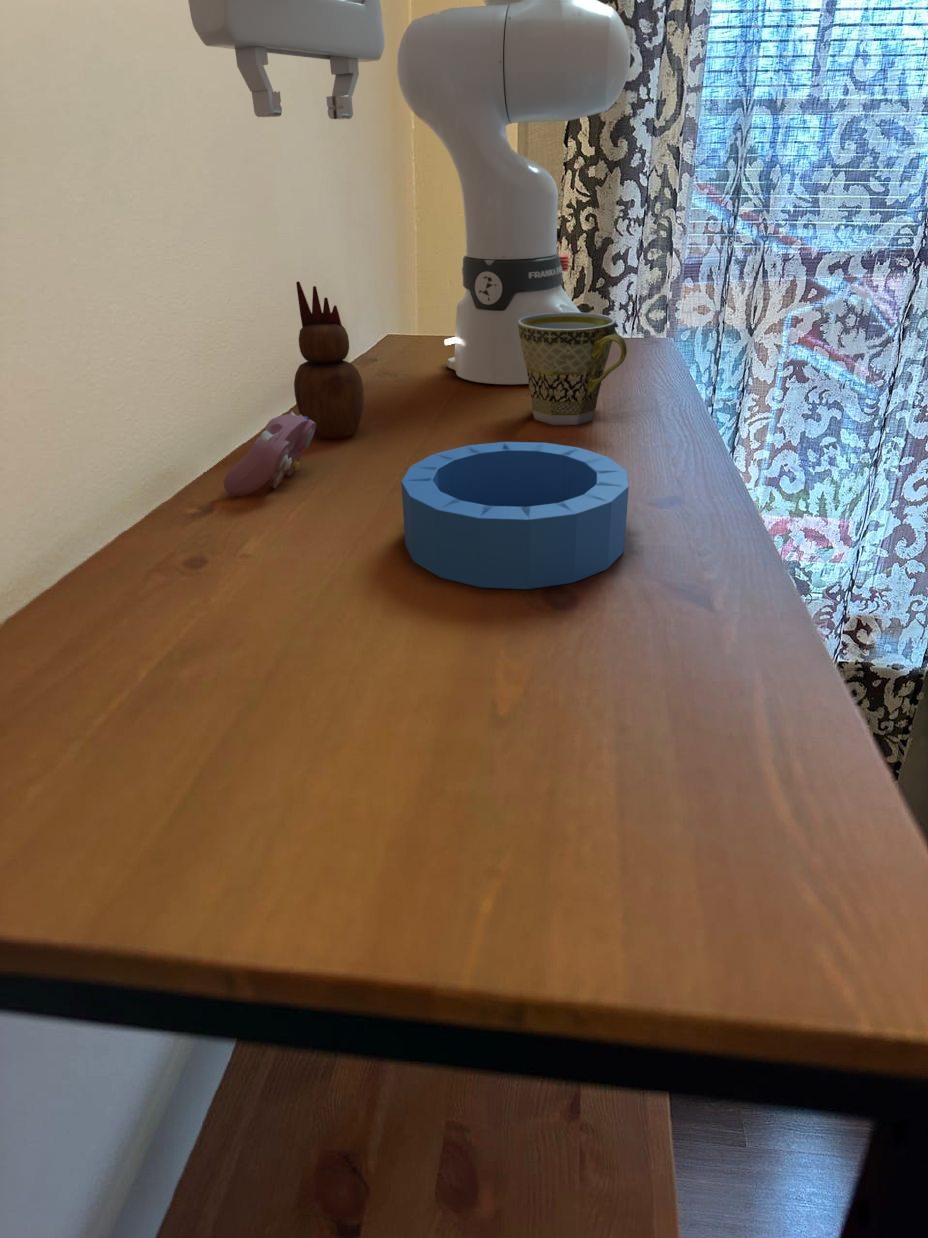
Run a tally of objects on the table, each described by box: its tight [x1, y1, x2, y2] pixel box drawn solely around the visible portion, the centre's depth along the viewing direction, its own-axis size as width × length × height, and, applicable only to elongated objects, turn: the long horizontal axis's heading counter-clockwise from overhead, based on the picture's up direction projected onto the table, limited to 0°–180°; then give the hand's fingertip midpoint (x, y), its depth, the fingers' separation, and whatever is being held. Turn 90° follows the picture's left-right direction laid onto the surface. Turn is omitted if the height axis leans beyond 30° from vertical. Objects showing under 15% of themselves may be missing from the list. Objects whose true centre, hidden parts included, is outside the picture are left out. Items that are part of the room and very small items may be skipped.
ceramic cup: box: [518, 311, 628, 426], centre depth 87 cm, size 13×10×10 cm
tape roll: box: [400, 441, 630, 590], centre depth 61 cm, size 16×16×5 cm
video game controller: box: [223, 411, 316, 497], centre depth 73 cm, size 10×5×7 cm, turn 169°
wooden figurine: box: [293, 281, 365, 441], centre depth 82 cm, size 7×6×15 cm
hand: (306, 118), depth 72 cm, fingers open, 8 cm apart
